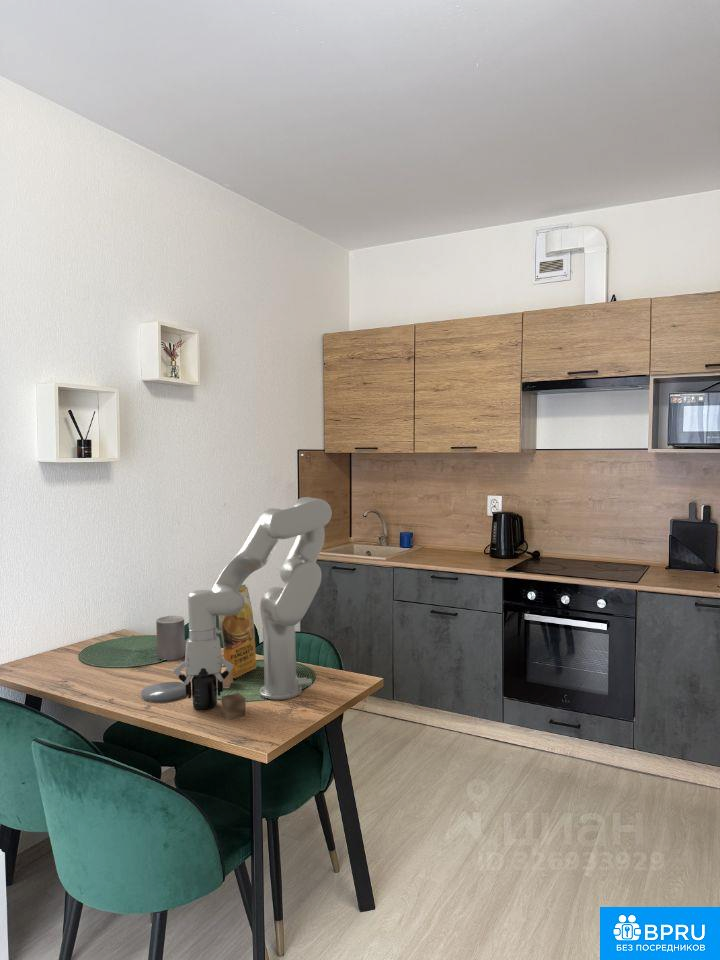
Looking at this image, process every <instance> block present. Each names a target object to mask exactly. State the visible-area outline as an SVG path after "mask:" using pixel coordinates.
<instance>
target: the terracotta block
mask: <svg viewBox="0 0 720 960" xmlns="http://www.w3.org/2000/svg"><path fill="white" fill-rule="evenodd" d="M226 669H227V667H224V666H222V670H221V673H223V672H224V671H225V670H226ZM215 676H216V675H215ZM232 682H233V683H234V679H233V671H232V670H231V671H230V673H229V674H228V676H227V677H226V678H225V679H224V680H223V687H229V686H230V684H231V683H232ZM233 683H232V684H233ZM216 686H217V687H218V678H217V676H216ZM230 687H231V686H230ZM230 687H229V688H230Z"/></svg>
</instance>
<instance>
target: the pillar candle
mask: <svg viewBox="0 0 720 960" xmlns="http://www.w3.org/2000/svg"><path fill="white" fill-rule="evenodd" d="M155 621H156V624H155V625H156V658H157V657H158V658H161V659H166V660H167V661H166V662H172V661H177V660H181V659H183V658H185V651H186V638H185V617H183V616H180V615H168V616H166V615H165V616H162V617H158V618H157V619H156V620H155Z"/></svg>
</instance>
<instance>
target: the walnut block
mask: <svg viewBox="0 0 720 960" xmlns="http://www.w3.org/2000/svg"><path fill="white" fill-rule="evenodd" d="M246 704H247V703H246V698H245V696H243V694H241V693H240V692H236V693H232V694H227V695H224V696H221V715H222V716H224V717H225V718H226V719H227V720H228V721H230V720H234V719H239V718H242V717H246V716H247V709H246V706H247V705H246Z"/></svg>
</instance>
